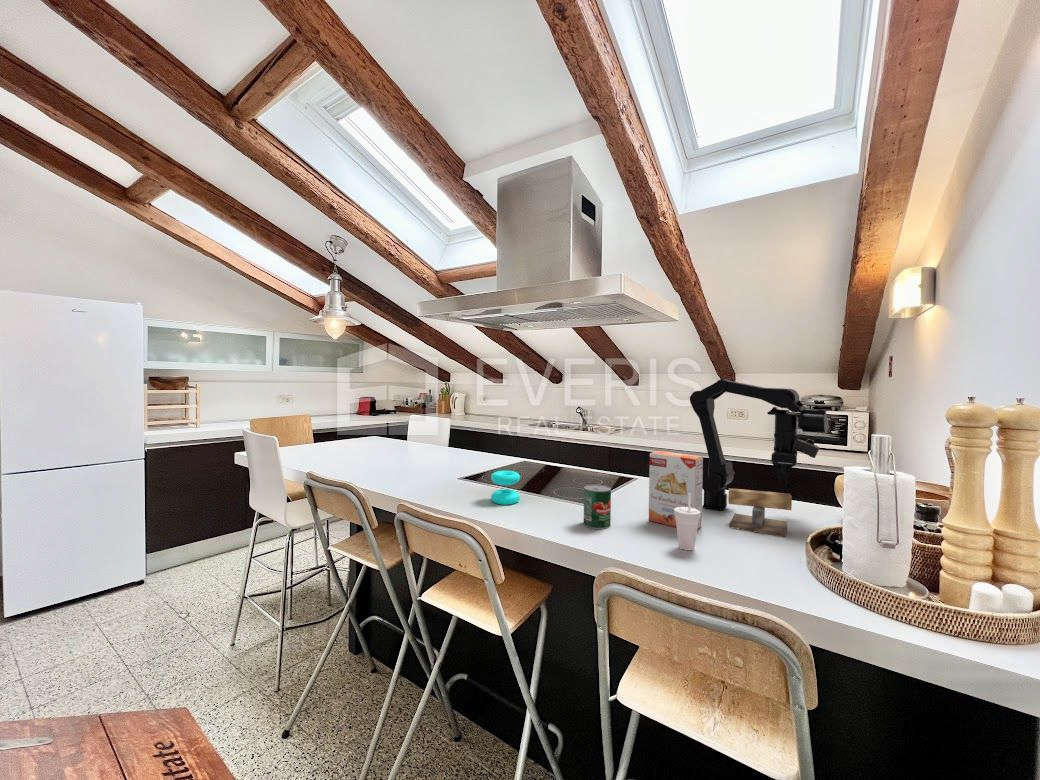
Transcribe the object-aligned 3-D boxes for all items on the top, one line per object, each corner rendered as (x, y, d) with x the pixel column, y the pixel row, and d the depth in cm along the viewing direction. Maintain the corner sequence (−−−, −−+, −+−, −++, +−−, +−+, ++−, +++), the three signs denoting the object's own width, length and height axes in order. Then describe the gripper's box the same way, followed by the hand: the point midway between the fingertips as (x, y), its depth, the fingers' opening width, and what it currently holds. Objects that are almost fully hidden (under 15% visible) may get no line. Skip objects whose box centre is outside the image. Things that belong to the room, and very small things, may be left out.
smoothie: (697, 554, 109) (698, 498, 108) (670, 549, 112) (671, 494, 112) (702, 546, 114) (703, 492, 114) (676, 541, 117) (677, 488, 117)
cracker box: (647, 521, 134) (648, 452, 133) (656, 516, 138) (657, 449, 137) (694, 532, 124) (695, 458, 124) (702, 527, 129) (703, 455, 128)
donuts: (492, 469, 159) (520, 469, 159) (492, 497, 159) (519, 497, 159) (490, 476, 149) (519, 476, 149) (489, 505, 149) (519, 505, 149)
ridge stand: (729, 527, 129) (729, 506, 129) (734, 516, 139) (735, 497, 139) (785, 537, 121) (786, 515, 121) (786, 524, 131) (787, 504, 131)
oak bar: (728, 503, 131) (729, 490, 131) (728, 501, 134) (728, 488, 134) (791, 510, 125) (791, 496, 125) (789, 507, 128) (789, 493, 128)
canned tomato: (590, 518, 136) (591, 483, 136) (615, 523, 131) (615, 486, 131) (578, 525, 129) (579, 488, 129) (603, 531, 125) (604, 492, 125)
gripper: (818, 435, 121) (817, 492, 122) (817, 429, 137) (815, 479, 138) (771, 432, 127) (770, 487, 128) (775, 426, 143) (774, 475, 143)
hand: (784, 481), depth 134 cm, fingers open, 9 cm apart
